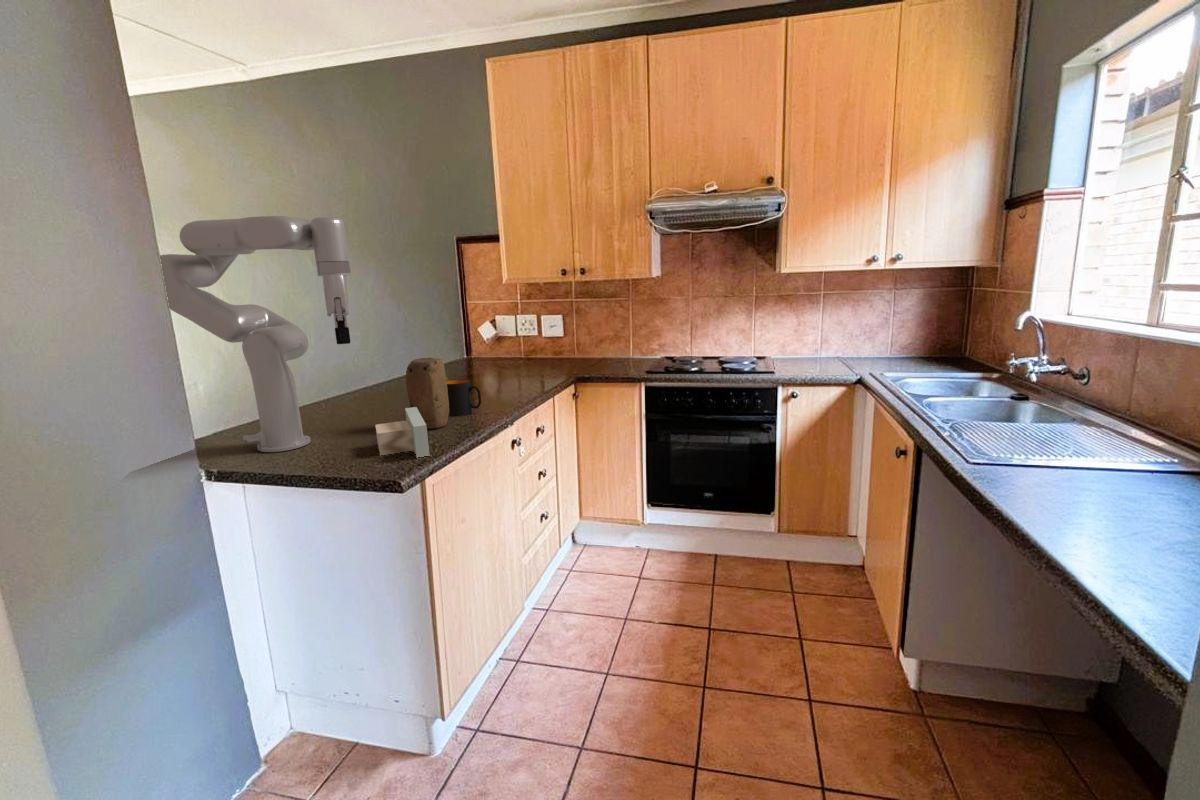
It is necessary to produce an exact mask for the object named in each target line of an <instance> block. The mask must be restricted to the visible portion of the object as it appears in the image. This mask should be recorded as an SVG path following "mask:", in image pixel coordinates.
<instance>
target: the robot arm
mask: <svg viewBox="0 0 1200 800" xmlns="http://www.w3.org/2000/svg"><path fill="white" fill-rule="evenodd" d="M179 240H180V243H181V244H182V246H183V247H184V248H185V249H186V250H187V251H189V252H191V253H193V254H175V253H172V254H167V253H166V254H160V259H161V264H162V271H163V276H164V282H165V286H166V292H167V297H168V303H169V308H170V309H169V308H168V309H169V310H170V311H172V312H173V313H176V314H178V315H179V316H181V317H183V318H185V319H187V320H189V321H191V322H192V323H193V324H195V325H197V326H198V327H200V328H202V329H203V330H206V332H209V333H211V334H212V335H214V336H215V337H218V338H219V339H221V340H223V341H225V342H227V343H232V344H234V343H242V344H241V348H242V349H241V350H242V354H243V356H244V359H245V362H246V364H247V366H248V369H249V373H250V376H251V377H250V378H251V381H252V386H253V392H254V397H255V402H256V403H255V404H256V408H257V409H256V410H257V414H258V419H259V420H258V421H259V425H260V431H259V432H257V433H256V434H246V435H243V436H242V440H243V443H244V444H245V443H247V444H248V445H249V444H254V443H257V445H256V448H257V451H259V452H261V453H278V452H279V453H280V452H285V451H291V450H296V449H298V448H302V447H304V446H307V445H309V444H310V443H311V442H312V440H311V437H310V435H304V432H303V430H304V429H303V426H302V425H303V424H302V419H301V413H300V406H299V400H298V394H297V387H296V380H295V378H294V377H295V376H294V374H293V372H292V369H291V368H290V367H289V365H288V363H287V362H288V361H292V360H296V359H298V358H300V357H302V356H304V355H305V354H306V353H307V351H308V348H309V339H308V337H307V335H306V333H305V332H304V331H303V330H302V329H301V328H300V327H299V326H297V325H296V324H294V323H293V322H290V320H287V319H286V318H284V317H282V316H280V315H279V314H277V313H275V312H274V311H272V310H271V309H268V308H266V307H264V306H261V305H258V304H252V303H251V304H232V303H229V302H226V301H224V300H222V299H221V298H219V297H217V296H216V295H214V294H212V293H210V292H208V291H206V290H204V289H202V288H208V287H211V286H213V285H214V284H216V283H218V281H219V280H220V279H221V278H222V276H224V274H225V272H226V271H227V270H228V269H229V268H230V266H231V265H232V264H233V262H235V260H236V259H237V257H238V256H239V255H251V254H253V253H255V252H256V251H257V250H262V251H263V250H296V251H297V250H298V251H312V250H313V252H314V253H313V254H314V258H315V265H316V273H317V277H322V284H323V285H322V286H323V295H324V301H325V308H326V315H327V316H328V317H330V318H331V317H332V316H331V315H333V319H334V326H335V327H334V333H335V339H336V344H337V345H347V344H349V345H350V344H351V336H350V329H349V327H348V322H347V321H348V320H347V317H348V315H349V312H350V311H349V310H350V309H349V308H350V305H349V304H350V302H349V291H348V284H347V283H348V282H347V276H351V275H352V273H351V265H350V258H349V257H350V256H349V251H348V250H349V249H348V243H347V234H346V228H345V223H344V221H343V219H341V218H339V217H336V216H335V217H333V216H318V217H315V218H312V219H305V218H299V217H294V216H287V215H286V216H285V215H265V216H264V215H262V216H248V217H242V218H226V219H206V220H202V219H201V220H194V221H191V222H188V223H185V224H184V225H183V226H182V227H181V229H180V231H179ZM200 288H201V289H200Z"/></svg>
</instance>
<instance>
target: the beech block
mask: <svg viewBox="0 0 1200 800" xmlns="http://www.w3.org/2000/svg"><path fill="white" fill-rule="evenodd" d="M375 434H376V435H375V436H376V443H377V449H378V451H379V452H380V453H379V456H380V457H382V456H381V455H386V456H388V455H387V454H392V455H395V454H394V453H399V452H405V453H407V452H406V451H412V450H414V447H413V439H412V430H411V427H410V425H409V423H408V421H407V420H399V421H392V422H386V423H384V422H383V423H378V424H375ZM412 452H413V451H412ZM399 454H400V453H399Z"/></svg>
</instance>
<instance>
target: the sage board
mask: <svg viewBox="0 0 1200 800" xmlns="http://www.w3.org/2000/svg"><path fill="white" fill-rule="evenodd" d="M404 410H405V411H404V412H405V419H406V420H407V421H408V423H409V425H410V427H411V430H412V439H413V447H414V451H413V452H414V455H415V454H416V455H415V457H416V459H419V458H418V457H424V456H430V455H431V454H430V446H429V437H428V428H427V426H426V423H425V422H424V420H423V418H422V416H421V414H420V413H419V411H418V409H417V407H412V408H410V407H405V408H404ZM406 420H405V421H406ZM424 458H425V457H424Z"/></svg>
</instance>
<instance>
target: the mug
mask: <svg viewBox="0 0 1200 800" xmlns="http://www.w3.org/2000/svg"><path fill="white" fill-rule="evenodd" d="M473 389H475V390H476V393H477V399H478V404H477V405H473V403H472V394H471V392H472V390H473ZM447 390H448V400H449V416H448V417H463V415H464V416H468V415H471V414H472V413H473V409H479V408H480V407H481V404H482V395H481V394H482V393H481V390H480V388H479V387H478V386H476V385H472V386H471V383H470V380H469V379H466V378H459V379H457V378H456V379H448V381H447Z"/></svg>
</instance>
